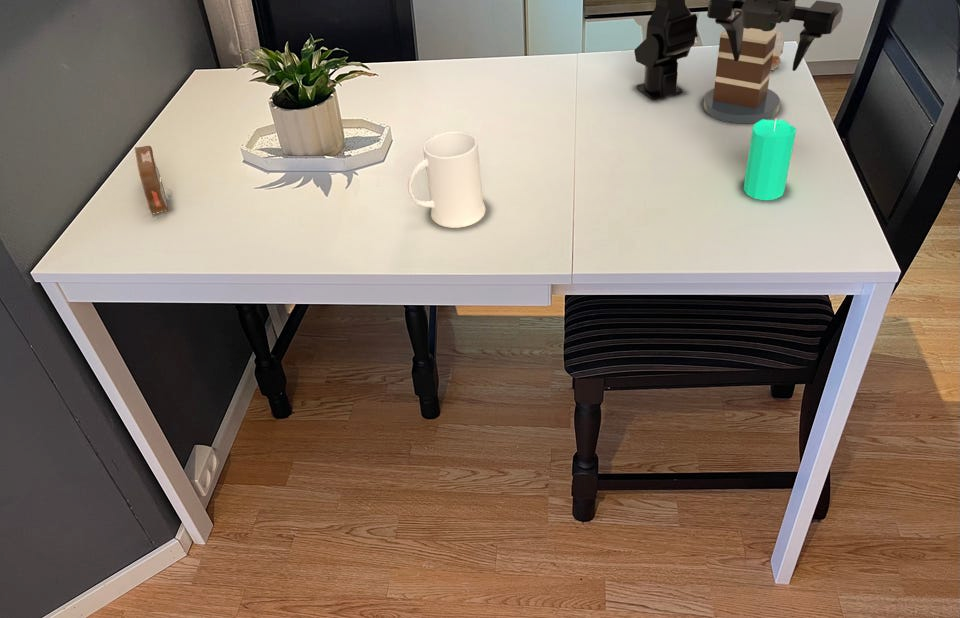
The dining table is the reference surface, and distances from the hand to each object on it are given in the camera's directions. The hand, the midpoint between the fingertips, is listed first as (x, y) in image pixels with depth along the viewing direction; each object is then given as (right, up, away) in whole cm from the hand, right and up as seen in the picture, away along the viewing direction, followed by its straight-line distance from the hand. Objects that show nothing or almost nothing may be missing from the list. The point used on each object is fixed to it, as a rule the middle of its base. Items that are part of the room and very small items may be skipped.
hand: (765, 65), depth 125 cm
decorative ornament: (+10, +9, +30) cm, 33 cm away
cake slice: (+1, -1, +17) cm, 17 cm away
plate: (+2, -2, +18) cm, 18 cm away
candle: (-2, -20, -4) cm, 21 cm away
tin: (-100, -20, +9) cm, 102 cm away
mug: (-50, -24, -2) cm, 56 cm away
